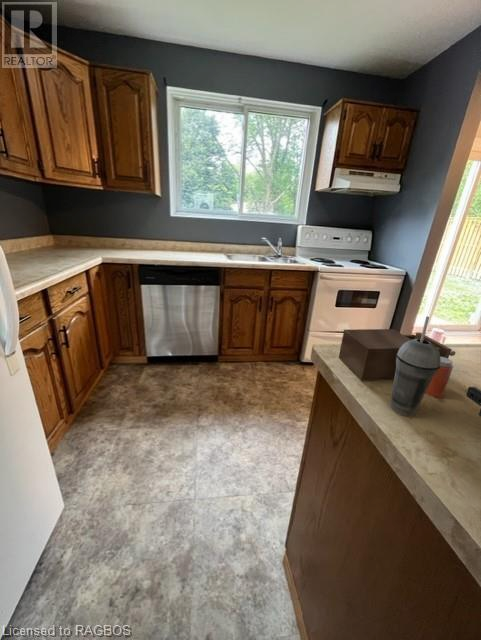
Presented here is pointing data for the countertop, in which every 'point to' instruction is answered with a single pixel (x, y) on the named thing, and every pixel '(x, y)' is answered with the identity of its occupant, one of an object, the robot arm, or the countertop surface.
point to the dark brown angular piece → (441, 348)
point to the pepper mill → (440, 378)
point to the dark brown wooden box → (371, 352)
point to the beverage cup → (413, 374)
